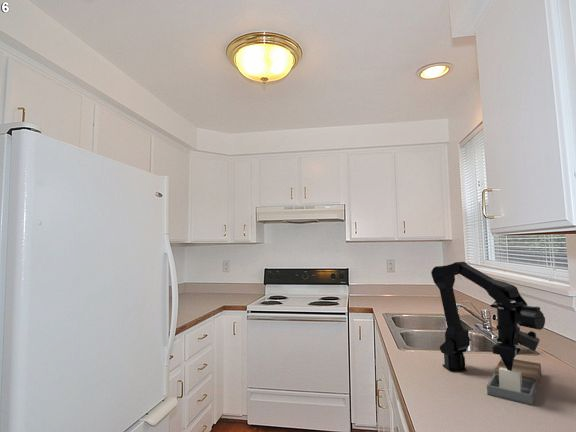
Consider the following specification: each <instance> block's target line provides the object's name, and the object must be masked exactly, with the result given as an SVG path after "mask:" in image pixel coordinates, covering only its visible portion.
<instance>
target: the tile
mask: <svg viewBox="0 0 576 432" xmlns="http://www.w3.org/2000/svg"><path fill="white" fill-rule="evenodd" d="M499 388H504V389H508V390H513V391H517V392H522V372H519V371H515V370H512V371H510V370H507V369H506V368H499Z"/></svg>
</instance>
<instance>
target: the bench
mask: <svg viewBox="0 0 576 432" xmlns="http://www.w3.org/2000/svg"><path fill="white" fill-rule="evenodd" d="M499 368H506V366H505V364H504V362H503V360H502V358H500V360H499V362H498V364H497V365H496V367H495V368H494V370H493V372H494V373H495V374H499ZM506 369H507V368H506ZM512 370H515V371H519V372H522V379H524V380H529V381H534V382H536V392H537V391H538V388H539V384H540V381H541V379H542V378H541V377H542V365H541V363H538V362H534V361H528V360H523V359H517V358H516V359H515V358H514V362H513V367H512ZM494 373H493V374H494Z"/></svg>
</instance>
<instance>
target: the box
mask: <svg viewBox="0 0 576 432" xmlns="http://www.w3.org/2000/svg"><path fill="white" fill-rule="evenodd" d="M486 394H487V396H491V397H494V398H499V399H503V400H507V401H511V402H516V403H519V404H523V405H529V406H533V404H534V402H535V397H536V395H537V391H536V382H534V381H529V380H524V379H522V392H517V391H513V390H508V389H504V388H499V374H495V373H493V375H492V376H491V377H490V380H488V383H487V385H486Z"/></svg>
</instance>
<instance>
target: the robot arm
mask: <svg viewBox="0 0 576 432" xmlns="http://www.w3.org/2000/svg"><path fill="white" fill-rule="evenodd" d="M430 274H431V278H432V280H433V283H434V284H435V285H436V286H437V288H438V289H439V293H440V298H441V303H442V308H443V313H444V318H445V323H446V329H445V333H444V339H445V341H444V342H443V343H442V344H441V345H440V346H439V350H440V352H441V353H442V354H443V359H444V360H443V362H444V363H443V364H442V367H444V368H445V369H446V370H447V371H449V372H452V373H454V372H456V373H457V372H467V371H468V369H467V368H466V357H465V355H464V353H466V352H467V349H468V348H469V346H470V345H471V341H472V340H471V338H470V332H469V329H465V328H464V327H463V326H462V324H461V319H460V316H459V311H458V306H457V302H456V301H457V300H456V296H455V292H454V285H455V281H456V275H461V277H464V278H465V279H467V280H469V281H471V282H472V283H473V284H475V285H477V286H478V287H480V288H482V289H483V290H485V291H486V292H487V294H488V296H489V297H491V298H492V299H493V300H494V302H493V303H491V304H490V307H491V308H492V309H493V308H494V309H496V318H497V319H496V320H497V325H496V327H495V328H496V330H497V329H498V332H497V338H496V343H495V344H493V346H492V347H491V349H492V354H494V355H499V356H500V359H502V360H503V362H504V364H505V366H506V368H507V370H510V371H512V367H513V362H514V359H515V358H516V356H517V355H518V354H519V353H520V351H521V348H519V347H517V346H519V345H520V346H523V347H526V348H527V349H529V350H531V351H533V352H536V351H537V348H538V346H539V343H540V341H541V340H540V337H537V333H536V332H534V331H532V330H530V331H528V332H526V331H525V332H523V331H521V327H524V328H529V329H534V330H537V331H538V330H540V331H541V330H542V329H543V328H544V327H545V324H546V317H545V315H544V313H543V311H541V307H540V306H530V305H528V303H527V302H526V300H525V299H524V298H523V296H522V295H521V294H520V292H519V289H518V287H517V286H516V285H513V284H511V283H508V282H505V281H502V280H498V279H495V278H493V277H490V276H489V275H488V274H486V273H483V272H482V271H480V270H479V269H476V268H475V267H473V266H471V265H469V264H468V263H467V262H465V261H454V263H451V264H447V265H439V266H434V267H433V268H432V270H431V273H430ZM498 342H501V343H498ZM515 345H516V346H515Z"/></svg>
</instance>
